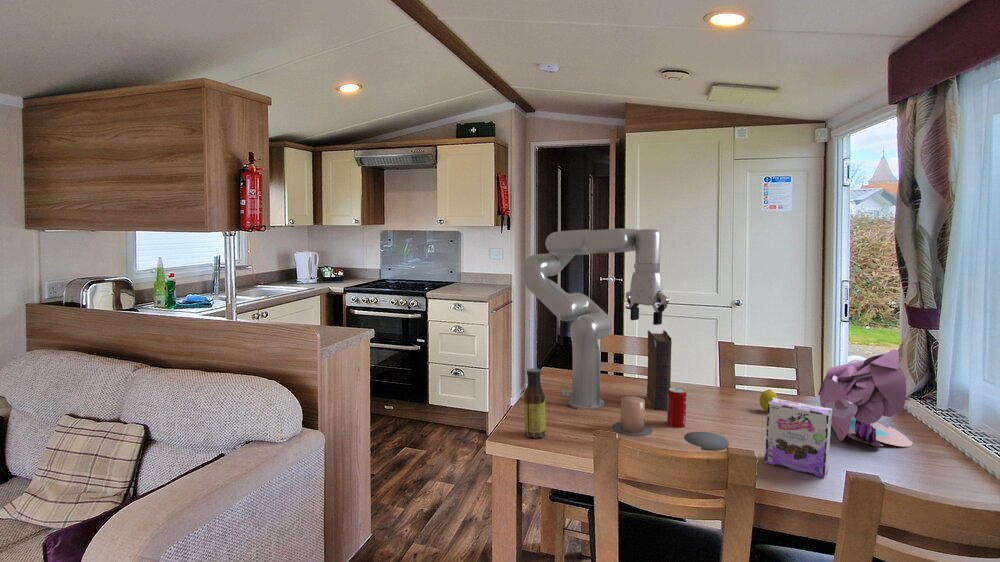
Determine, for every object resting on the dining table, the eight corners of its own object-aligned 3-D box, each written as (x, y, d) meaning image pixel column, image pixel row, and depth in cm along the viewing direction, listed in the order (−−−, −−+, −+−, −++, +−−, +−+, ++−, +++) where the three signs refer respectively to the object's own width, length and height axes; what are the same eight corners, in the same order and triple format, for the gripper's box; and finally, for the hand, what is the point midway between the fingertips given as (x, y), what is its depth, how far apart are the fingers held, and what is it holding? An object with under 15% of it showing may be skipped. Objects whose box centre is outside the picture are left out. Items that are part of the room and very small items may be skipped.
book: (670, 413, 176) (672, 339, 174) (648, 411, 178) (650, 338, 175) (666, 397, 192) (668, 330, 190) (645, 396, 194) (647, 329, 191)
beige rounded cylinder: (618, 431, 159) (618, 402, 158) (622, 423, 166) (623, 395, 165) (642, 434, 156) (642, 405, 156) (645, 426, 163) (646, 398, 162)
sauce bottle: (550, 435, 158) (550, 370, 156) (536, 441, 153) (536, 374, 151) (533, 429, 162) (533, 366, 160) (519, 435, 158) (519, 369, 156)
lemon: (780, 416, 173) (781, 392, 173) (761, 415, 174) (762, 391, 174) (774, 410, 179) (776, 387, 178) (757, 409, 180) (758, 386, 179)
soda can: (686, 430, 161) (688, 392, 160) (668, 429, 162) (669, 390, 161) (684, 423, 167) (685, 386, 165) (666, 422, 168) (667, 385, 167)
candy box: (763, 463, 139) (766, 402, 137) (769, 455, 143) (772, 396, 142) (824, 478, 130) (828, 413, 128) (828, 470, 135) (832, 407, 133)
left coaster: (608, 434, 158) (608, 432, 158) (616, 421, 169) (616, 419, 169) (649, 441, 153) (649, 439, 153) (655, 426, 164) (655, 424, 164)
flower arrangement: (932, 478, 141) (973, 381, 134) (836, 453, 145) (870, 358, 138) (874, 419, 174) (905, 339, 167) (798, 401, 178) (824, 322, 172)
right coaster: (682, 446, 150) (682, 444, 150) (685, 431, 161) (685, 429, 161) (728, 453, 145) (728, 451, 145) (728, 437, 156) (728, 435, 156)
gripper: (619, 267, 172) (617, 319, 174) (660, 271, 158) (658, 327, 159) (635, 266, 176) (634, 317, 178) (677, 269, 161) (675, 325, 163)
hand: (645, 322), depth 169 cm, fingers open, 9 cm apart
